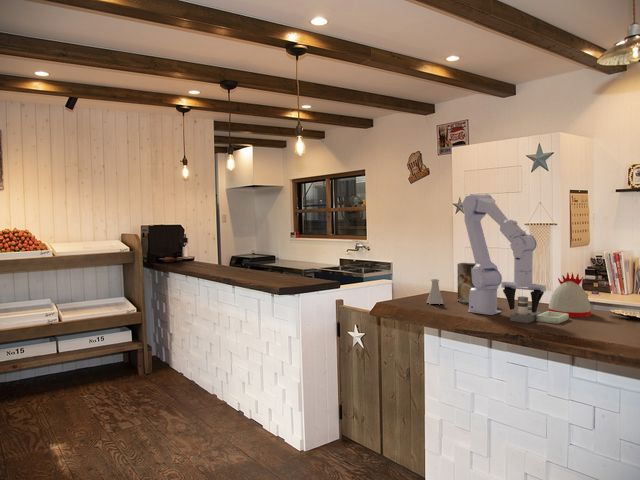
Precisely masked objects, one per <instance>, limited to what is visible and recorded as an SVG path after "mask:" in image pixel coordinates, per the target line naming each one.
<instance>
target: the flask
mask: <svg viewBox="0 0 640 480" xmlns="http://www.w3.org/2000/svg"><path fill="white" fill-rule="evenodd" d="M430 280H431V287H430V291H429V294H428V297H427V300H426V303H425V304H427V303H429V304H428V305H431V304H439V305H440V304H443V305H444V303H445V302H444V300H443V296H442V293H441V291H440V290H441V289H440V286H439V281H440V279H438V278H437V279H436V278H432V279H430ZM439 305H438V306H439Z"/></svg>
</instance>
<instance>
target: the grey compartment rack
mask: <svg viewBox="0 0 640 480" xmlns="http://www.w3.org/2000/svg"><path fill="white" fill-rule="evenodd" d="M541 313H542V311H537V312H534V313H533V312H532V305H528V316H523V315H518V311H516V312H513V313H510V314H509V321H511V322H518V323H524V324H529V323H532V322H535V321H536V315H538V314H541Z"/></svg>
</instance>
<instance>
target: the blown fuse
mask: <svg viewBox="0 0 640 480" xmlns="http://www.w3.org/2000/svg"><path fill="white" fill-rule="evenodd" d="M528 306H529V297H527V296H517V312H518V315H523V316H528Z"/></svg>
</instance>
